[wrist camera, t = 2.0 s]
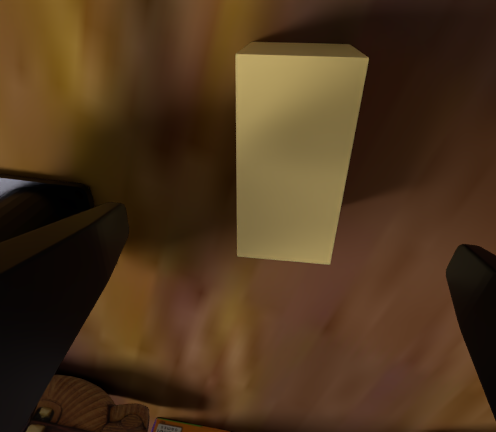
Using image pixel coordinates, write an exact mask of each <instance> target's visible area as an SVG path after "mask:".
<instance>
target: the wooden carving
mask: <svg viewBox="0 0 496 432" xmlns="http://www.w3.org/2000/svg"><path fill="white" fill-rule="evenodd" d="M148 427H149V409H148V407H146V406H144V405H141V404H137V403H136V404H123V405H115V404H114V402H113V400H112V399H111V398H110V397H109V396H108V395H107V394H106V392H105V391H104V390H102V389H101V388H100V387H98V386H97V385H94V384H93V383H91V382H89V381H86V380H84V379H80V378H76V377H72V376H65V375H54V376H53V378H52V379H51V381H50V383H49V385H48V386H47V388H46V390H45V391H44V393H43V395H42V397H41V398H40V400H39V403H38V405H37V407H36V410H35V412H34V415H33V417H32V420H31V422H30V425H29V427H28V429H27V431H26V432H147V431H148Z"/></svg>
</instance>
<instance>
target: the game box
mask: <svg viewBox="0 0 496 432" xmlns="http://www.w3.org/2000/svg"><path fill="white" fill-rule="evenodd" d="M151 432H231V431H226V430H221V429H216V428H211V427H205V426H200V425H194V424H189V423H184V422H178V421H173V420H168V419H162V418H156V420H155V422H154V425H153V428H152V430H151Z"/></svg>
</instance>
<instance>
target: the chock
mask: <svg viewBox="0 0 496 432" xmlns="http://www.w3.org/2000/svg"><path fill="white" fill-rule="evenodd" d="M368 62H369V57H367V56H366V55H364V54H363V53H362V52H360V51H359V50H357V49H356V48H354V47H353V46H351V45H350V44H324V43H283V42H251V43H249V44H248V45H247V46H245V47H244V48H243V49H242V50H240V51H239V52H238V53H236V177H237V256H239V257H250V258H261V259H273V260H284V261H295V262H306V263H317V264H329V265H330V262H331V256H332V251H333V246H334V241H335V235H336V230H337V225H338V219H339V214H340V209H341V204H342V198H343V193H344V188H345V183H346V177H347V172H348V167H349V162H350V156H351V151H352V146H353V141H354V135H355V130H356V125H357V119H358V114H359V109H360V104H361V98H362V93H363V88H364V83H365V77H366V72H367V67H368Z"/></svg>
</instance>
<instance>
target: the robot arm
mask: <svg viewBox="0 0 496 432" xmlns="http://www.w3.org/2000/svg"><path fill="white" fill-rule="evenodd" d="M79 191H80V192H81V193H82V194H83V195H81V194H80V193H79ZM128 234H129V225H128V219H127V213H126V208H125V206H124V205H123V204H121V203H113V202H108V203H105V204H102V205H100V206H97V207H94V203H93V198H92V194H91V191H90V189H89V188H88V187H87V186H86V185H84V184H81V183H72V182H63V181H55V180H46V179H38V178H29V177H21V176H12V175H3V174H0V432H26V431H27V429H28V427H29V425H30V422H31V420H32V417H33V415H34V412H35V410H36V407H37V405H38V403H39V400H40V398H41V397H42V395H43V393H44V391H45V390H46V388H47V386H48V385H49V383H50V381H51V379H52V378H53V376H54V374H55V373H56V371H57V369H58V367H59V366H60V364H61V362H62V360H63V359H64V357H65V355H66V354H67V352H68V350H69V348H70V347H71V345H72V343H73V342H74V340H75V338H76V336H77V335H78V333H79V331H80V329H81V328H82V326H83V324H84V323H85V321H86V319H87V317H88V316H89V314H90V312H91V311H92V309H93V307H94V305H95V304H96V302H97V300H98V298H99V297H100V295H101V293H102V292H103V290H104V288H105V286H106V284H107V283H108V281H109V279H110V277H111V274H112V272H113V270H114V268H115V265H116V263H117V261H118V258H119V256H120V254H121V251H122V249H123V247H124V245H125V242H126V240H127V238H128ZM446 278H447V282H448V286H449V290H450V294H451V297H452V301H453V305H454V309H455V313H456V316H457V320H458V323H459V327H460V330H461V333H462V335H463V338H464V341H465V343H466V346H467V348H468V351H469V354H470V356H471V359H472V361H473V364H474V366H475V369H476V372H477V374H478V377H479V379H480V382H481V384H482V387H483V390H484V392H485V395H486V397H487V400H488V402H489V405H490V408H491V410H492V413H493V415H494V418H495V420H496V255H494V254H492V253H490V252H489V251H487V250H485V249H483V248H482V247H480V246H476V245H468V244H462V245H459V246H458V247H457V249H456V251H455V253H454V255H453V257H452V259H451V261H450V263H449V264H448V266H447V269H446Z"/></svg>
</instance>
